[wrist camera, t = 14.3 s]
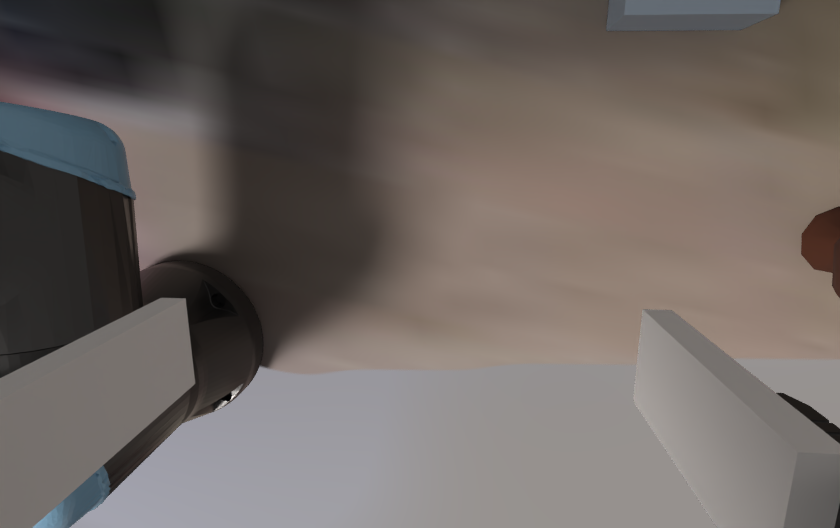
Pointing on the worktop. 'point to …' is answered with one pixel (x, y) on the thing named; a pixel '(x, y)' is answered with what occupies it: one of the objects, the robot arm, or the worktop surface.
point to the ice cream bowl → (824, 244)
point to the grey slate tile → (688, 14)
